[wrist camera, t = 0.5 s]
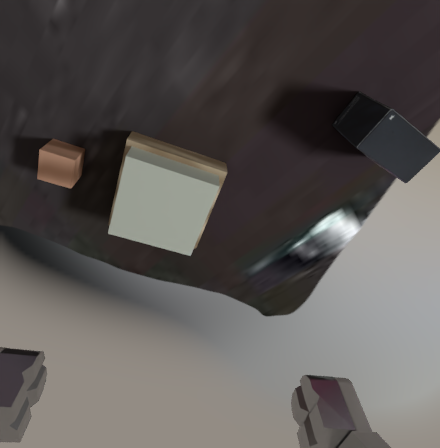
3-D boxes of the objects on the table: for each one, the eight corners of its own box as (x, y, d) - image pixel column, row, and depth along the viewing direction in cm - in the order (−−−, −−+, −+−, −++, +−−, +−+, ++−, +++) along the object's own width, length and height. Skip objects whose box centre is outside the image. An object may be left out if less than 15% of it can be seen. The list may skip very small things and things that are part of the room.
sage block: (131, 146, 47) (126, 155, 44) (218, 175, 51) (219, 186, 47) (114, 220, 54) (107, 233, 51) (191, 242, 58) (190, 255, 54)
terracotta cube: (53, 138, 50) (39, 149, 46) (85, 148, 52) (74, 160, 47) (50, 166, 53) (37, 178, 49) (81, 175, 54) (70, 188, 50)
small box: (328, 126, 51) (354, 148, 42) (358, 89, 48) (392, 105, 39) (373, 159, 54) (406, 186, 45) (404, 127, 51) (444, 149, 43)
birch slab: (132, 130, 51) (126, 139, 47) (225, 161, 54) (227, 172, 50) (114, 211, 59) (108, 224, 55) (196, 234, 62) (196, 248, 58)
